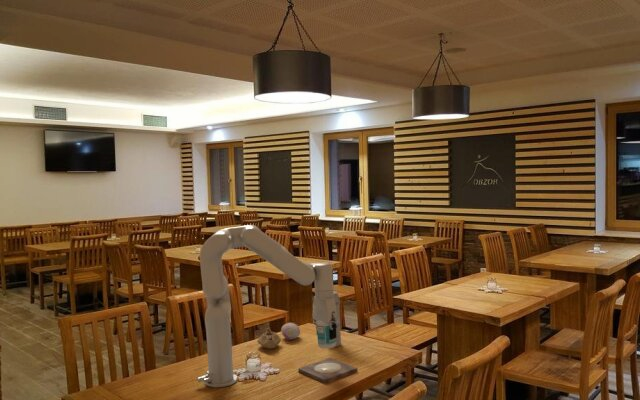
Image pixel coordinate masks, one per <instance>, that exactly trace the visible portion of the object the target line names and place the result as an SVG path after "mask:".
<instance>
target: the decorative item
mask: <svg viewBox="0 0 640 400" xmlns="http://www.w3.org/2000/svg"><path fill="white" fill-rule="evenodd" d="M280 333H281V335H282V337H284V338H285V339H286V340H295V339H298V337H299V336H300V334H301V329H300V327H299V326H298V325H297V324H296V323H294V322H287V323H285V324H283V325H282V326H281V329H280Z"/></svg>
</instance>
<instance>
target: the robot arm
mask: <svg viewBox="0 0 640 400" xmlns="http://www.w3.org/2000/svg"><path fill="white" fill-rule="evenodd" d="M243 247H246V248H247V249H249V250H250V251H252V252H253V253H254V254H256V255H258V256H259V257H261V258H263V260H265V261H266V262H268V263H270V264H271V265H272V266H273V267H275V268H276V269H278V270H279V271H281V272H282V273H283V274H285V275H286V276H288V277H289V278H291V279H292V280H294V281H295V282H296V283H298V284H299V285H302V286H309V285H312V283H314V294H315V295H314V297H313V304H312V306H313V307H312V310H313V311H312V313H311V316H312V319H313V322H314V324H315V329H316V331H315V332H316V333H317V321H318V320H320V321H322V322H324V323H327V324H328V323H329V327H330V329H329V336H330V339H334V338H336V337H337V336H336V328H337V326H338V325H339V322H340V323H341V318H340V319H339V318H338V317H337V312H336V304H335V299H334V291H335V290H334V277H333V275H334V274H333V265H332V263H330V262H327V261H325V262H317V263H312V262H302V260H300V259H298V258H297V257H295V256H294V255H293V254H292V253H291V252H290V251H288V249H287V247H285V246H283V244H281V243H279V242H278V241H277V240H275V239H274V238H272V237H270V236H269V235H267V234H266V233H265V232H263V231H262V230H261V229H260V228H259V227H258V226H256V225H254V224H247V225H241V226H240V225H239V226H235V227H227V228H222V229H218V230H216V232H214V233H213V234H212V235H211V236H210V237H209V238H207V240H206V241H205V242H204V243H203V244H202V246H201V248H200V252H199V264H200V275H201V282H202V283H201V286H202V292H203V295H204V296H205V298H206V306H207V307H206V310H205V314H204V324H205V330H206V332H205V333H206V347H207V348H206V349H207V364H208V370H207V371H206V374H203V376H202V375H201V376H199V377H197V378H196V380H197V383H202V382H203V383H204V384H205V385H206V386H207V387H210V388H225V387H228V386H229V387H230V386H231V385H234V384H235V383H236V382H237V381H238V375H237V374H235V373H234V363H233V361H234V360H233V345H232V344H233V343H232V332H231V331H232V330H231V311H232V306H231V305H232V304H231V297H230V289H229V283H228V278H227V277H226V275H225V274H224V269H223V267H224V265H223V259H222V258H223V255H224V254H225V253H226V252H228V251H229V250H231V249H235V248H243ZM331 320H332V321H331ZM331 323H333V325H332V324H331Z"/></svg>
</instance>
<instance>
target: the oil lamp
mask: <svg viewBox="0 0 640 400" xmlns="http://www.w3.org/2000/svg"><path fill="white" fill-rule="evenodd" d="M265 331H266V332H264V333H262V335H260V337H258V339H257V343H258V345H260V346H262V348H264V349H267V350H270V349H274V348H276V347H278V345H279V344H280V342H281V341H282V339H281V336H280V335H279V334H277V332H276V331H272V330H271V327H267V328H266V330H265Z"/></svg>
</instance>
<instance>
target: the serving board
mask: <svg viewBox="0 0 640 400" xmlns="http://www.w3.org/2000/svg"><path fill="white" fill-rule="evenodd" d="M298 373H300V374H302V375H305V376H307V377H310V378H311V379H313V380H316V381H318V382H320V383H322V384H323V383H324V384H328V383H331V382H333V381H336V380H338V379H341V378H344V377H347V376H349V375H352V374H355V373H358V367H356V366H354V365H351V364H348V363H345V362H343V361H340V360H338V359H337V360H336V359H334V358H332V357H327V358H326V359H323V360H319V361H316V362H313V363H310V364H307V365H304V366H302V367H299V368H298Z"/></svg>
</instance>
